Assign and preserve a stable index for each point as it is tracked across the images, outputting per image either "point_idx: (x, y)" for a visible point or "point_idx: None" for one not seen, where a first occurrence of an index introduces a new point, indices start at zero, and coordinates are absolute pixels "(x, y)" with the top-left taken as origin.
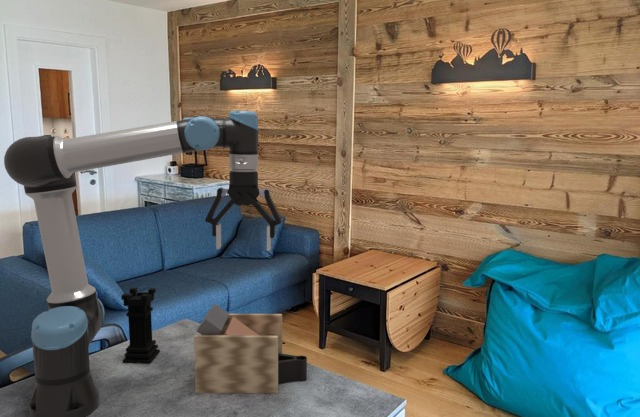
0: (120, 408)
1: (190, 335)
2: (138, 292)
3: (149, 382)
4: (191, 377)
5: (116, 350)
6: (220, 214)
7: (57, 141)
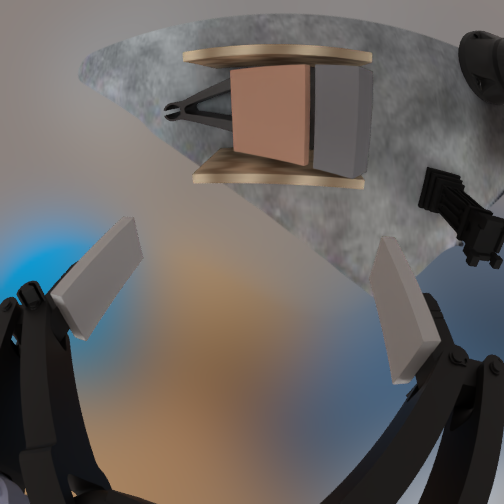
0: (433, 44)
1: None
2: (488, 259)
3: (419, 106)
4: None
5: None
6: (429, 427)
7: None
